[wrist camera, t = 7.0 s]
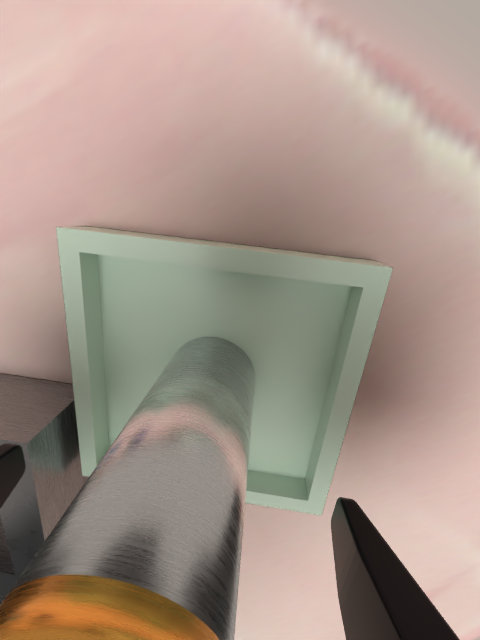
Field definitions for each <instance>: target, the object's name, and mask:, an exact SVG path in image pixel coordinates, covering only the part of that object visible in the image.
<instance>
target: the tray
mask: <svg viewBox="0 0 480 640" xmlns="http://www.w3.org/2000/svg"><path fill="white" fill-rule="evenodd" d="M56 230H57V240H58V249H59V259H60V268H61V278H62V287H63V297H64V306H65V316H66V325H67V335H68V344H69V354H70V363H71V373H72V382H73V392H74V401H75V411H76V420H77V430H78V439H79V449H80V458H81V468H82V476H88V477H90V475H91V474H92V472H93V471H94V469H95V468H96V467H97V465H98V464H99V462H100V461H101V459H102V458H103V456H104V455H105V454H106V452H107V451H108V449H109V448H110V446H111V445H112V444H113V442H114V441H115V439H116V438H117V436H118V435H119V433H120V432H121V431H122V429H123V428H124V426H125V425H126V423H127V422H128V421H129V419H130V418H131V416H132V415H133V413H134V412H135V410H136V409H137V408H138V406H139V405H140V403H141V402H142V400H143V399H144V397H145V396H146V395H147V393H148V392H149V390H150V389H151V387H152V386H153V385H154V383H155V382H156V380H157V379H158V377H159V376H160V374H161V373H162V372H163V370H164V369H165V367H166V366H167V364H168V363H169V362H170V360H171V359H172V357H173V356H174V354H175V353H176V351H177V350H178V349H179V348H180V347H181V346H182V345H184V344H185V343H187V342H188V341H190V340H193V339H196V338H199V337H218V338H222V339H225V340H228V341H230V342H232V343H234V344H236V345H237V346H239V347H240V348H241V349H242V350H243V351H244V352H245V353H246V354H247V355H248V357H249V358H250V360H251V362H252V364H253V367H254V370H255V391H254V403H253V415H252V427H251V439H250V451H249V463H248V476H247V488H246V500H245V503H249V504H255V505H261V506H267V507H273V508H279V509H285V510H291V511H297V512H303V513H309V514H315V515H322V512H323V508H324V505H325V502H326V498H327V495H328V491H329V488H330V484H331V481H332V477H333V474H334V470H335V467H336V464H337V460H338V457H339V453H340V450H341V446H342V443H343V439H344V436H345V432H346V429H347V425H348V422H349V419H350V415H351V412H352V408H353V405H354V401H355V398H356V394H357V391H358V387H359V384H360V381H361V377H362V374H363V370H364V367H365V363H366V360H367V356H368V353H369V349H370V346H371V343H372V339H373V336H374V332H375V329H376V325H377V322H378V318H379V315H380V311H381V308H382V305H383V301H384V298H385V294H386V291H387V287H388V284H389V280H390V277H391V273H392V270H393V268H392V267H390V266H387V265H385V264H382V263H380V262H377V261H374V260H366V259H357V258H349V257H341V256H332V255H324V254H316V253H307V252H299V251H291V250H282V249H274V248H266V247H257V246H249V245H241V244H232V243H224V242H216V241H207V240H199V239H191V238H182V237H174V236H166V235H157V234H149V233H141V232H133V231H124V230H116V229H108V228H99V227H91V226H71V227H56Z"/></svg>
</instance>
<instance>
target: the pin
mask: <svg viewBox="0 0 480 640" xmlns="http://www.w3.org/2000/svg"><path fill="white" fill-rule="evenodd" d="M254 391H255V370H254V367H253V364H252V362H251V360H250V358H249V357H248V355H247V354H246V353H245V352H244V351H243V350H242V349H241V348H240V347H239V346H237V345H236V344H234V343H232V342H230V341H228V340H225V339H222V338H218V337H199V338H196V339H193V340H190V341H188V342H187V343H185V344H184V345H182V346H181V347H180V348H179V349H178V350H177V351H176V353H175V354H174V356H173V357H172V359H171V360H170V362H169V363H168V364H167V366H166V367H165V369H164V370H163V372H162V373H161V374H160V376H159V377H158V379H157V380H156V382H155V383H154V385H153V386H152V387H151V389H150V390H149V392H148V393H147V395H146V396H145V397H144V399H143V400H142V402H141V403H140V405H139V406H138V408H137V409H136V410H135V412H134V413H133V415H132V416H131V418H130V419H129V421H128V422H127V423H126V425H125V426H124V428H123V429H122V431H121V432H120V433H119V435H118V436H117V438H116V439H115V441H114V442H113V444H112V445H111V446H110V448H109V449H108V451H107V452H106V454H105V455H104V456H103V458H102V459H101V461H100V462H99V464H98V465H97V467H96V468H95V469H94V471H93V472H92V474H91V475H90V477H89V478H88V479H87V481H86V482H85V484H84V485H83V487H82V488H81V490H80V491H79V492H78V494H77V495H76V497H75V498H74V500H73V501H72V503H71V504H70V505H69V507H68V508H67V510H66V511H65V513H64V514H63V515H62V517H61V518H60V520H59V521H58V523H57V524H56V526H55V527H54V528H53V530H52V531H51V533H50V534H49V536H48V537H47V538H46V540H45V541H44V543H43V544H42V546H41V547H40V549H39V550H38V551H37V553H36V554H35V556H34V557H33V559H32V560H31V561H30V563H29V564H28V566H27V567H26V569H25V570H24V572H23V573H22V574H21V576H20V577H19V579H18V580H17V582H16V583H15V585H14V586H13V587H12V589H11V590H10V592H9V593H8V595H7V596H6V597H5V599H4V600H3V602H2V603H1V605H0V640H234V633H235V621H236V609H237V597H238V584H239V572H240V560H241V548H242V536H243V524H244V512H245V500H246V488H247V476H248V463H249V451H250V439H251V427H252V415H253V403H254Z"/></svg>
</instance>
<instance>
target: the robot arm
mask: <svg viewBox="0 0 480 640" xmlns="http://www.w3.org/2000/svg"><path fill="white" fill-rule="evenodd" d="M25 469H26V464H25V459H24V453H23V449H22V447H21V446H20V445H17V444H11V443H5V444H2V445H0V509H1V508H2V506H3V505H4V503H5V502H6V500H7V499H8V497H9V496H10V494H11V493H12V491H13V490H14V488H15V487H16V485H17V484H18V482H19V481H20V479H21V478H22V476H23V474H24V472H25ZM331 531H332V541H333V551H334V561H335V570H336V580H337V589H338V598H339V604H340V610H341V615H342V620H343V625H344V630H345V636H346V640H460V639H459V638H458V637H457V635H456V634H455V633H454V631H453V630H452V629H451V627H450V626H449V625H448V623H447V622H446V621H445V620H444V618H443V617H442V616H441V614H440V613H439V612H438V610H437V609H436V608H435V606H434V605H433V604H432V602H431V601H430V600H429V598H428V597H427V596H426V594H425V593H424V592H423V590H422V589H421V588H420V586H419V585H418V584H417V582H416V581H415V580H414V578H413V577H412V576H411V574H410V573H409V572H408V570H407V569H406V568H405V566H404V565H403V564H402V562H401V561H400V560H399V558H398V557H397V556H396V554H395V553H394V552H393V550H392V549H391V548H390V546H389V545H388V544H387V542H386V541H385V540H384V538H383V537H382V536H381V534H380V533H379V532H378V530H377V529H376V528H375V526H374V525H373V524H372V522H371V521H370V520H369V518H368V517H367V516H366V514H365V513H364V512H363V510H362V509H361V508H360V506H359V505H358V504H357V503H356V501H354V500H353V499H348V498H342V497H340V498H338V500H337V502H336V505H335V508H334V512H333V515H332V519H331Z"/></svg>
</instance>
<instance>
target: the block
mask: <svg viewBox="0 0 480 640" xmlns="http://www.w3.org/2000/svg"><path fill="white" fill-rule="evenodd" d="M5 443H11V444H17V445H20V446H21V447H22V449H23V453H24V459H25V464H26V469H25V472H24V474H23V476H22V478H21V479H20V481H19V482H18V484H17V485H16V487H15V488H14V490H13V491H12V493H11V494H10V496H9V497H8V499H7V500H6V502H5V503H4V505H3V506H2V508H1V509H0V605H1V603H2V602H3V600H4V599H5V597H6V596H7V595H8V593H9V592H10V590H11V589H12V587H13V586H14V585H15V583H16V582H17V580H18V579H19V577H20V576H21V574H22V573H23V572H24V570H25V569H26V567H27V566H28V564H29V563H30V561H31V560H32V559H33V557H34V556H35V554H36V553H37V551H38V550H39V549H40V547H41V546H42V544H43V543H44V541H45V540H46V538H47V537H48V536H49V534H50V533H51V531H52V530H53V528H54V527H55V526H56V524H57V523H58V521H59V520H60V518H61V517H62V515H63V514H64V513H65V511H66V510H67V508H68V507H69V505H70V504H71V503H72V501H73V500H74V498H75V497H76V495H77V494H78V492H79V491H80V490H81V488H82V487H83V485H84V484H85V482H86V481H87V479H88V478H89V477H88V476H82V468H81V458H80V449H79V439H78V430H77V420H76V411H75V401H74V392H73V384H67V383H60V382H54V381H47V380H40V379H34V378H27V377H20V376H14V375H7V374H0V445H2V444H5Z"/></svg>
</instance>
